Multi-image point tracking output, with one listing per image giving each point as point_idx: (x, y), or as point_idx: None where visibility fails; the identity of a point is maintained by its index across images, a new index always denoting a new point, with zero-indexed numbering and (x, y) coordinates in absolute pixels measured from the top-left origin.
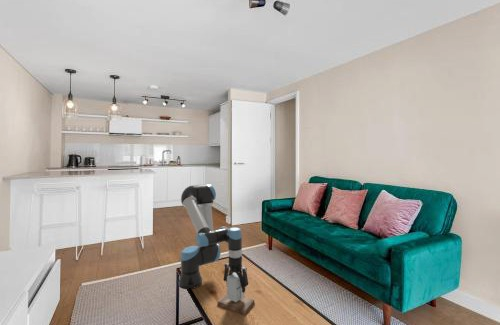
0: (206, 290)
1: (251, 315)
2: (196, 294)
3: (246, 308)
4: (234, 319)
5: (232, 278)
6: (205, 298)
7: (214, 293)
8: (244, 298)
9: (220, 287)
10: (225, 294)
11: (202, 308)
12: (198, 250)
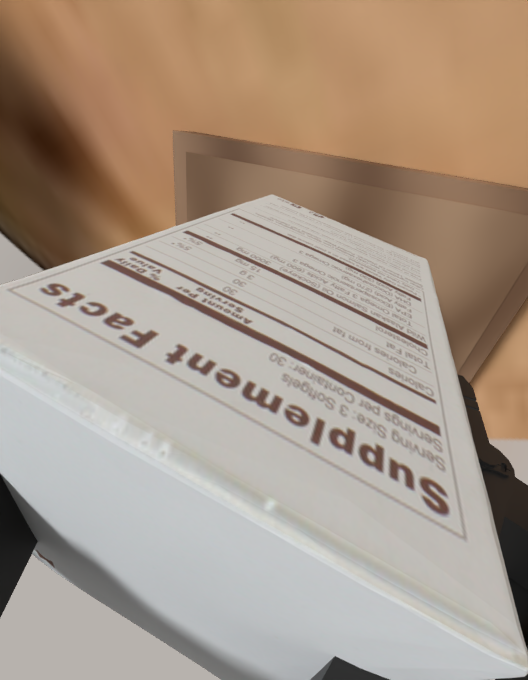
0: (6, 144)
1: (522, 390)
2: (9, 228)
3: (469, 376)
4: None
5: (168, 644)
6: (83, 256)
7: (81, 164)
8: (416, 216)
9: (42, 9)
10: (177, 202)
11: None
12: None
